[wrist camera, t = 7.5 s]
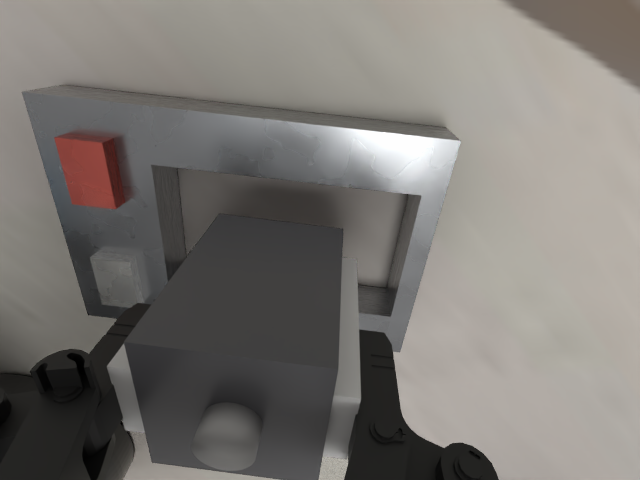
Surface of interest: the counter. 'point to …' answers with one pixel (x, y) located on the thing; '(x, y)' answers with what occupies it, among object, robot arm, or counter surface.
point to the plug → (243, 351)
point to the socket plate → (224, 157)
